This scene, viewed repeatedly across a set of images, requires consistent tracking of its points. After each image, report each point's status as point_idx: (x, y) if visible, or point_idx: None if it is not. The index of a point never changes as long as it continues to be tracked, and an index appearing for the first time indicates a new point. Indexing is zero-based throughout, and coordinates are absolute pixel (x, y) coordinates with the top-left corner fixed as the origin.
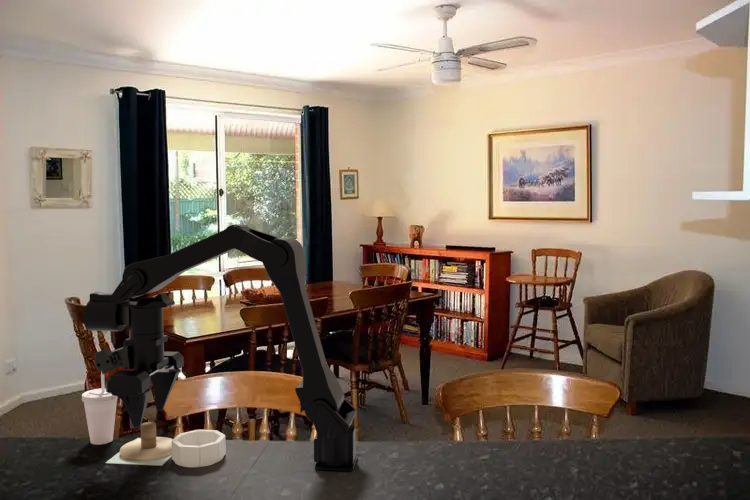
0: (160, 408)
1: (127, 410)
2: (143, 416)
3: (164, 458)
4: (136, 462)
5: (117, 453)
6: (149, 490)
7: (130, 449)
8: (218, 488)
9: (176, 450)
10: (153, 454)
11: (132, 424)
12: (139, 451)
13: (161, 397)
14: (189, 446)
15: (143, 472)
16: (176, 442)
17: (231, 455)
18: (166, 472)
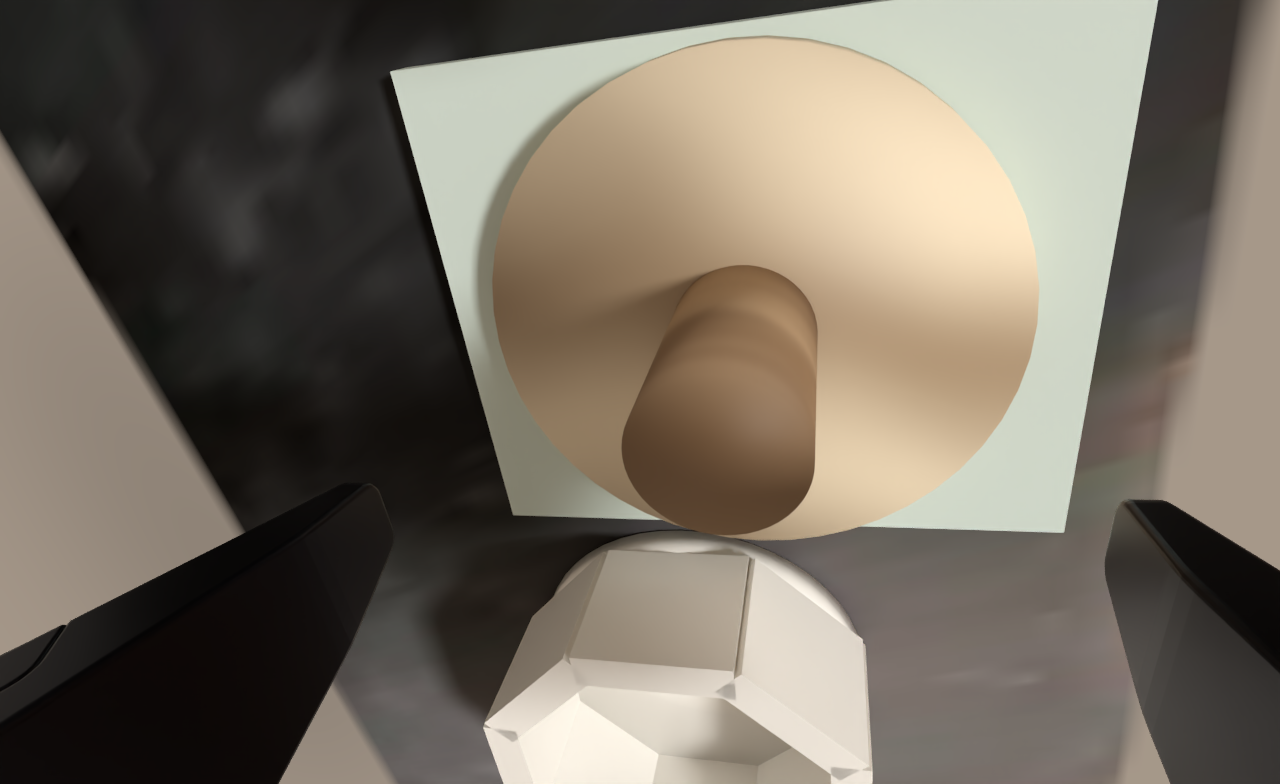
0: (1115, 578)
1: (70, 630)
2: (325, 684)
3: None
4: (491, 337)
5: (619, 40)
6: None
7: (628, 200)
8: (426, 769)
9: (530, 660)
10: (579, 447)
11: (312, 500)
12: (607, 310)
13: (1217, 771)
14: (506, 771)
15: (435, 416)
16: (547, 693)
17: None
18: (487, 539)
